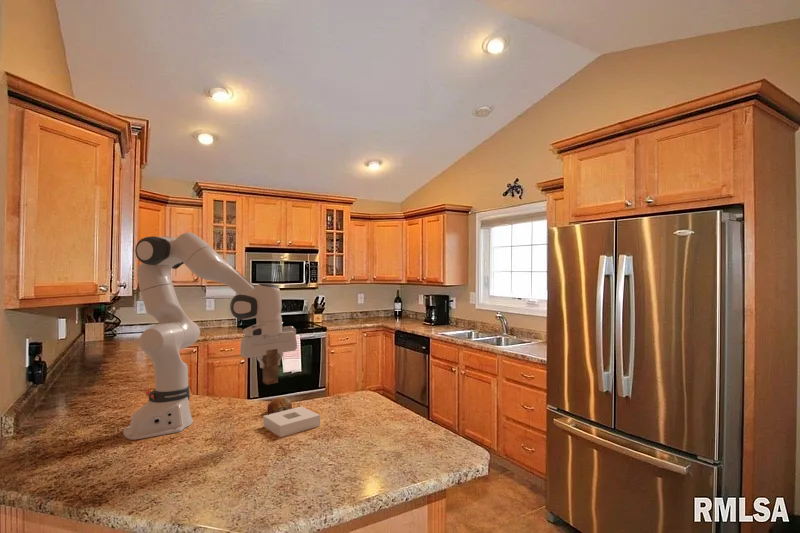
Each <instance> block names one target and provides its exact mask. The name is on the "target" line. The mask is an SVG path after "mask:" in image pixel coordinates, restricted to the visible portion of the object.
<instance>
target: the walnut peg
mask: <svg viewBox="0 0 800 533" xmlns="http://www.w3.org/2000/svg"><path fill="white" fill-rule="evenodd" d="M261 360H262V361H263V362H264V363H266V365H265V366H266V368H262V383H263V384H265V385H273V384H277V383H279V367H278V366H279V365H278V350H277V349H274V350H268V351H267V355H263V359H261Z"/></svg>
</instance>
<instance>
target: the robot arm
mask: <svg viewBox="0 0 800 533" xmlns="http://www.w3.org/2000/svg"><path fill="white" fill-rule="evenodd" d="M134 251H135V256H136V258H137V260H138V261H139V262H140V264H139V265H138V266H137V269H136V271H137V272H136V273H137V274H136V276H137V282H138V287H139V291H140V295H141V297H142V302H143V306H144V308H145V311H146V313H147V314H148V315H150V316H152V317H154V319H156V321H157V322H158V324H156V325H153V326H151V327H149V328H147V329H145V330H144V331H143V332H141V334H140V336H139V337H140V338H139V346H140V349H141V350H142V351H143V352H144V353H145V354H147V356H148V357H149V358H150V360H151V362H152V364H153V365H152V366H153V370H154V390H150V389H148V390H146V392H145V396H147V397H148V401H147V402H146V403H145V404H144V405H142V406H141V407H140V408H139V409H137V410H136V411H135V412H134V413H133V415H132V417H131V421H130V425H128V426H126V427H125V428H124V429H123V433H122V435H123V436H124V438H126V439H127V440H131V441H134V440H140V439H146V438H152V437H157V436H164V435H168V434H169V435H170V434H174V433H179V432H182V431H183V430H184V429H185V428H187V427H189V426H191V425H192V424H193V422H194V420H193V417H192V414H191V409H190V398H191V397H190V396H191V392H190V391H191V390H190V385H189V367H188V364H187V363H186V362H184V361H183V359H182V357H181V354H180V350H183V349H186V348H189V347H190V346H192V345H193V344H195V343H196V342H197V341H198V340H199V338H200V336H201V329H200V327H199V325H198V324H197V323H196V322H195V321H194V320H192V319H190V318H189V317H188V314H186V312H185V311H184V310H183V308H182V306H181V304H180V302H179V299H178V296H177V293H176V291H175V287H174V283H173V281H172V277H171V270H172V269H173V270H178V268H180V267H181V266H182V265H185V266H186V267H187V269H188V270H189V271H191V272H192V273H193V274H194V275H196V277H199V278H200V279H202V280H206V281H212V282H216V283H220V284H223V285H225V286H228V287H229V288H230V289H231V290H232V291H233V292H235V293H236V295H235V296H233V298H231V301H230V304H229V309H230V310H229V311H230V314H232V316H233V317H234V318H235V319H238V320H244V321H245V320H252V319H256V323H255V324H253V325H251V326H247V327H246V328H244V329H243V330H242V334H243V335H244V336H243V337H242V338H241V341H240V356H241V357H242V358H244V359H249V358H250V359H251V358H256V359H257V362H259V368H260V369H263V368H266V366H265V365H266V363H264V362H263V361H262V359H263V355H267V351H268V350H274V349H277V350H278V366H280V365H281V360H282V358H283V355H284V353H287V352H288V353H289V352H295V351H296V350H297V349H298V343H297V329H296V328H295V327H294V326H292V325H289V326H283V317H282V307H283V306H282V305H283V304H282V293H281V290H280V287H279V286H278V285H276V284H272V283H259V284H257V285H256V286H254V284H252V283H251V282H250V281H249V280H248V279H247V278H246V277H244V276H243V275H242V274H241V273H240V272H239V271H237V269H235V268H234V267H233V266H232V265H231V264H230V263H229V262H227V261H226V260H225V259H224V258H223V257H222V256H221V255H220V254H219V253H218V252H216V250H214V248H213V247H212V246H211V245H210V244H209V243H207V241H205V240H203V238H201V237H200V236H198V235H197V234H195V233H194V232H184V233H182V234H180V235H178V236H177V237H174V236H166V235H165V236H147V237H146V236H145V237H143V238H141V239H140V240H138V241H137V243H136V245H135V249H134Z"/></svg>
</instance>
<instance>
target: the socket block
mask: <svg viewBox="0 0 800 533" xmlns="http://www.w3.org/2000/svg"><path fill="white" fill-rule="evenodd" d="M262 416H263V417H262V418H263V420H262V421H263V422H262V423H263V424H262V425H263V426H264V428H265V427H266V428H265V429H267V430H268V431H269V432H271V433H273V434H274V435H276V436H277V437H279V438H284V437H287V436H290V435H293V434H296V433H300V432H304V431H307V430H310V429H314V428H317V427H321V414H319V413H316V412H314V411H312V410H310V409H308V408H306V407H304V406H298V407H297V406H296V407H294V408H293V407H292V409H289V410H285V411H281V412H277V413H273V414H269V415H268V414H266V415H265V414H264V415H262Z"/></svg>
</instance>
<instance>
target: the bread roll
mask: <svg viewBox="0 0 800 533" xmlns="http://www.w3.org/2000/svg"><path fill="white" fill-rule="evenodd" d="M266 407H267V415H268V414H273V413H277V412H281V411H285V410H289V409H293V404H292V401H291V400H290V399H288V398H287V397H283V396H279V397H274V398H273V399H272V400H271V401H269V403H268V405H267V406H266Z"/></svg>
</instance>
